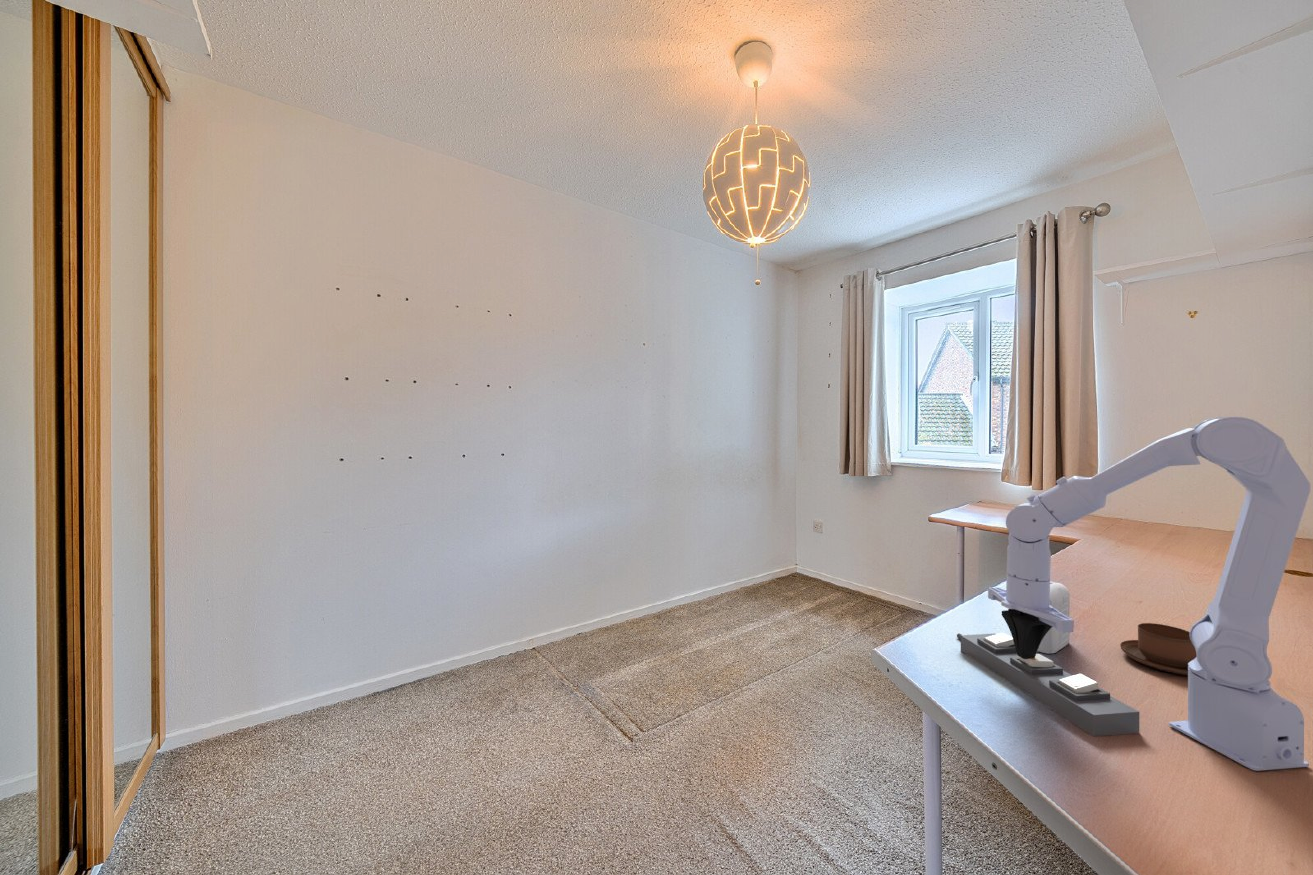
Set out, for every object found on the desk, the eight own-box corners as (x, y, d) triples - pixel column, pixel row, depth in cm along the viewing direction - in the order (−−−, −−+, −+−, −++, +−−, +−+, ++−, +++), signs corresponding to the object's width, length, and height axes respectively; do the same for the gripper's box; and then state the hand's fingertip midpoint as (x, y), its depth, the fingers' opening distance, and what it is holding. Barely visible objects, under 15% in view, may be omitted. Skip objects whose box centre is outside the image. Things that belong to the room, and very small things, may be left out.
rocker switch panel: (1139, 732, 68) (1139, 705, 68) (1093, 736, 67) (1093, 709, 67) (973, 636, 99) (973, 618, 99) (941, 638, 98) (941, 619, 98)
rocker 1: (1015, 643, 87) (1014, 638, 86) (997, 649, 86) (995, 643, 86) (1003, 637, 89) (1002, 632, 89) (985, 642, 89) (984, 637, 89)
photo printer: (1046, 635, 99) (1046, 575, 99) (1073, 642, 95) (1072, 580, 95) (1026, 648, 93) (1025, 585, 93) (1053, 657, 90) (1053, 591, 90)
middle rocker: (1052, 667, 79) (1053, 660, 79) (1032, 666, 79) (1033, 660, 79) (1039, 659, 82) (1039, 653, 82) (1019, 659, 81) (1019, 652, 81)
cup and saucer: (1182, 653, 91) (1182, 621, 91) (1239, 686, 79) (1239, 649, 79) (1105, 646, 94) (1105, 615, 94) (1149, 677, 82) (1149, 642, 82)
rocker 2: (1098, 688, 72) (1097, 681, 72) (1076, 695, 71) (1075, 688, 71) (1081, 679, 74) (1080, 673, 74) (1060, 685, 74) (1059, 679, 74)
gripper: (972, 563, 87) (971, 638, 87) (1044, 592, 72) (1041, 680, 73) (1009, 563, 87) (1007, 636, 88) (1087, 590, 73) (1084, 678, 73)
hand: (1025, 656), depth 80 cm, fingers closed, pressing on middle rocker
